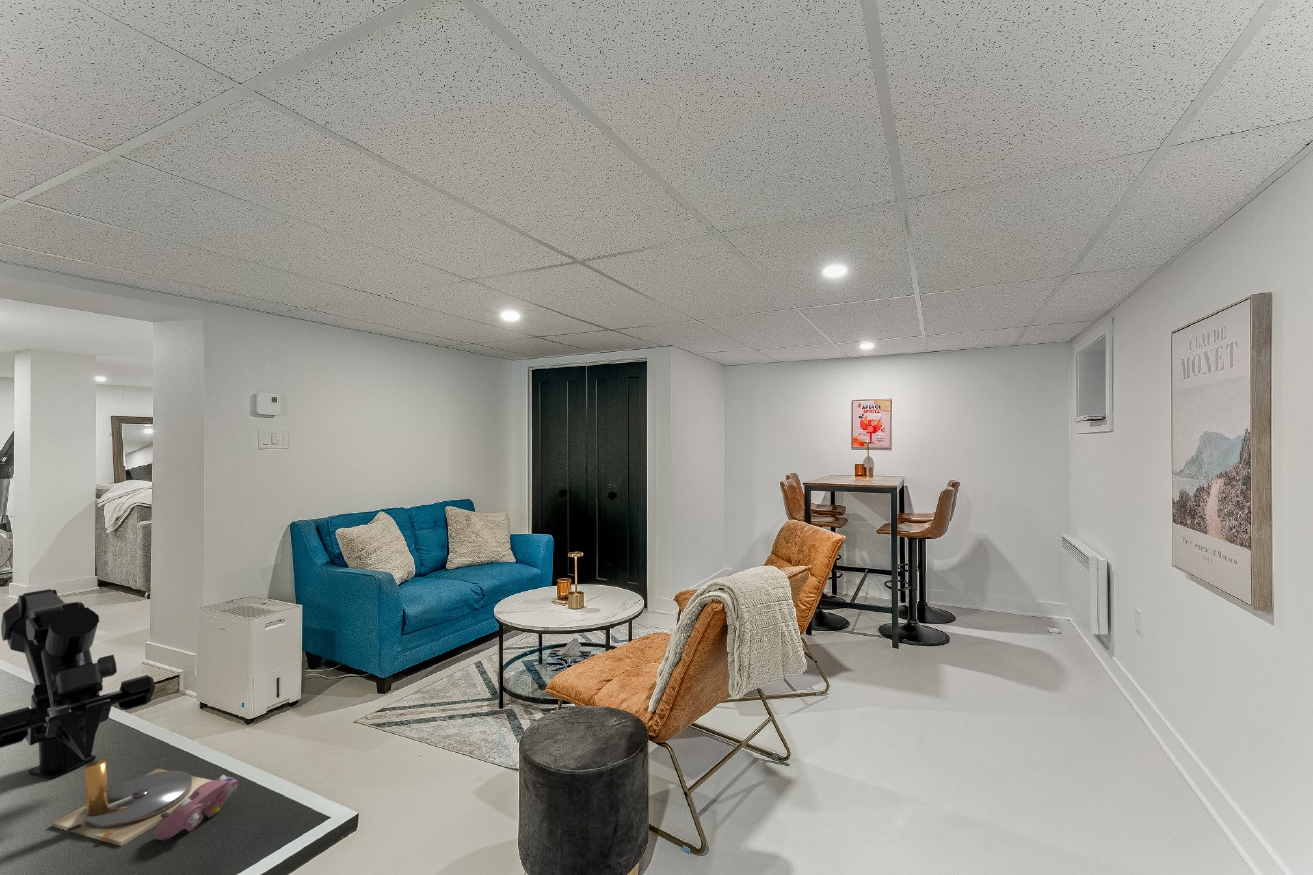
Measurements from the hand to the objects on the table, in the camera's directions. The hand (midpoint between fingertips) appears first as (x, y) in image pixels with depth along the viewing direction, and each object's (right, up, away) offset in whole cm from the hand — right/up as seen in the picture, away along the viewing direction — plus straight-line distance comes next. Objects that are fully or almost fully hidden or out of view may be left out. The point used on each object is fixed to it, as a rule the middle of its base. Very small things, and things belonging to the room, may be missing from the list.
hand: (87, 758), depth 94 cm
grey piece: (+8, -8, +1) cm, 11 cm away
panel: (+8, -8, +1) cm, 11 cm away
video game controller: (+20, -8, -3) cm, 22 cm away
